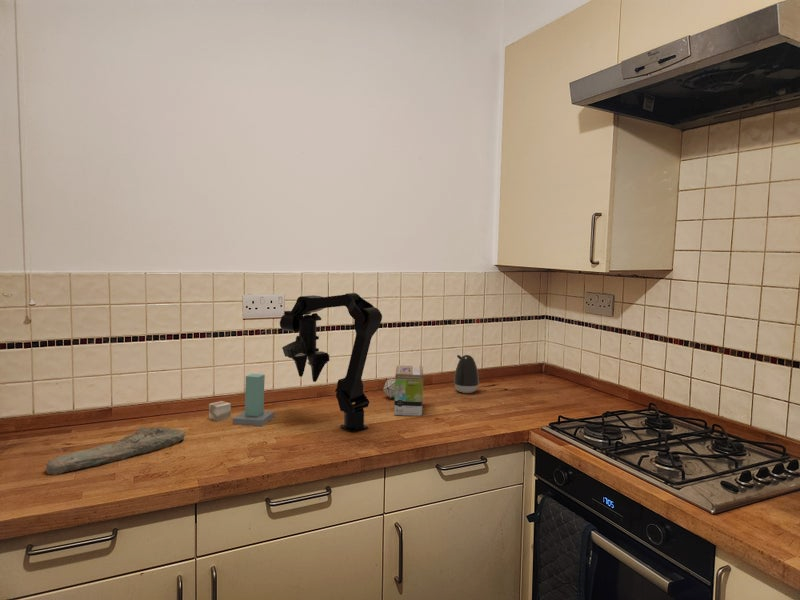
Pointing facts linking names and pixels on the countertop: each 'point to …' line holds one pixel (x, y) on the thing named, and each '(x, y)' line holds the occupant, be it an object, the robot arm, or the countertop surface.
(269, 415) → the slate slab
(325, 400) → the countertop surface
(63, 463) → the long grey stone
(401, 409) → the tea box
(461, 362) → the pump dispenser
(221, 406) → the cream cube
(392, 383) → the game die
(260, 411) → the teal block
